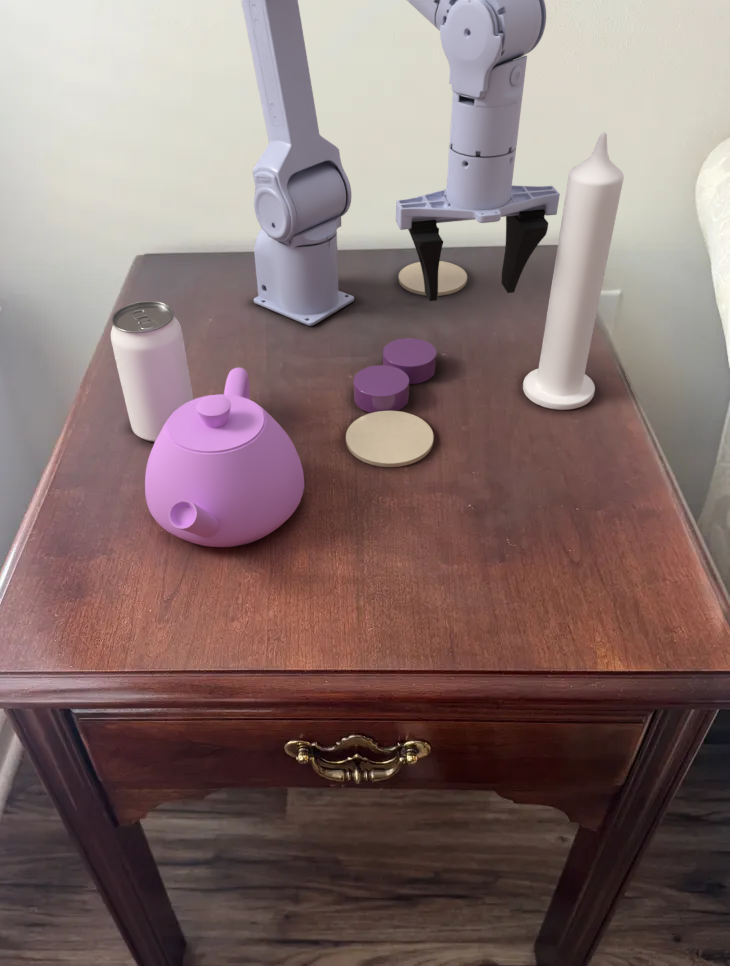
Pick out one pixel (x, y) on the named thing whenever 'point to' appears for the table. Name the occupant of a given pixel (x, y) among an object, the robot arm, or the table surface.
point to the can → (150, 364)
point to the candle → (577, 283)
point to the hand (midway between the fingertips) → (469, 292)
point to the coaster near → (389, 438)
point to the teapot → (223, 470)
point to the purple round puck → (411, 358)
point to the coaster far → (448, 278)
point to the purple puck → (381, 388)
